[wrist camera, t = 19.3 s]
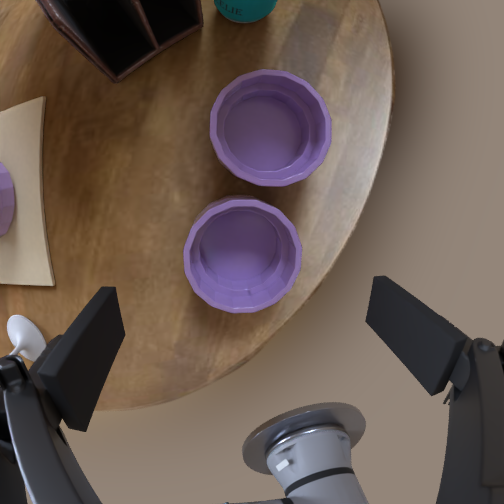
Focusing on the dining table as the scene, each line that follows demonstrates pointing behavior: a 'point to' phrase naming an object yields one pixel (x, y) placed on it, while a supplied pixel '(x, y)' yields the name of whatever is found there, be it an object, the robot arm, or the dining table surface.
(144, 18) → the letter holder
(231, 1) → the beverage can
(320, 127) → the dish
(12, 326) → the wineglass
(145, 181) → the dining table surface
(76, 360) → the robot arm
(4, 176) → the dish
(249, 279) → the dish
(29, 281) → the placemat
